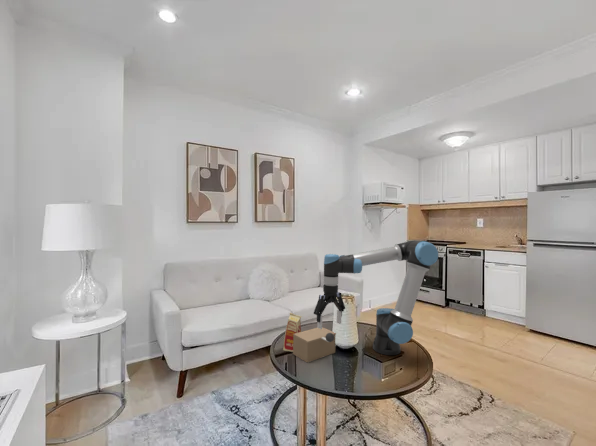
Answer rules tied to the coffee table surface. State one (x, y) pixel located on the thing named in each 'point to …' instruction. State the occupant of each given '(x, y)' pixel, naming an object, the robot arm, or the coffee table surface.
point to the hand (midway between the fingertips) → (329, 325)
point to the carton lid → (316, 335)
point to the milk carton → (291, 331)
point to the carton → (312, 349)
